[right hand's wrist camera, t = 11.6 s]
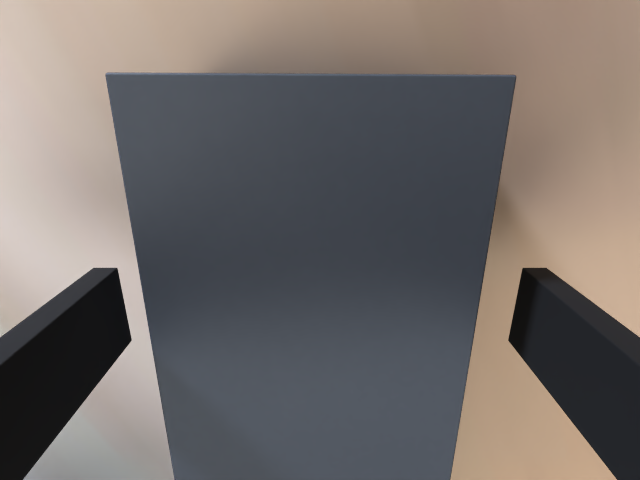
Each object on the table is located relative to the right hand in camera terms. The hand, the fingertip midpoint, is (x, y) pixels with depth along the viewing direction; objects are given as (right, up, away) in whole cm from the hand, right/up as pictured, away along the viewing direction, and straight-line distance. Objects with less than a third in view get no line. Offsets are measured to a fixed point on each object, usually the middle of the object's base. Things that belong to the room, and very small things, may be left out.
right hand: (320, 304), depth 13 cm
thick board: (0, -25, +14) cm, 29 cm away
